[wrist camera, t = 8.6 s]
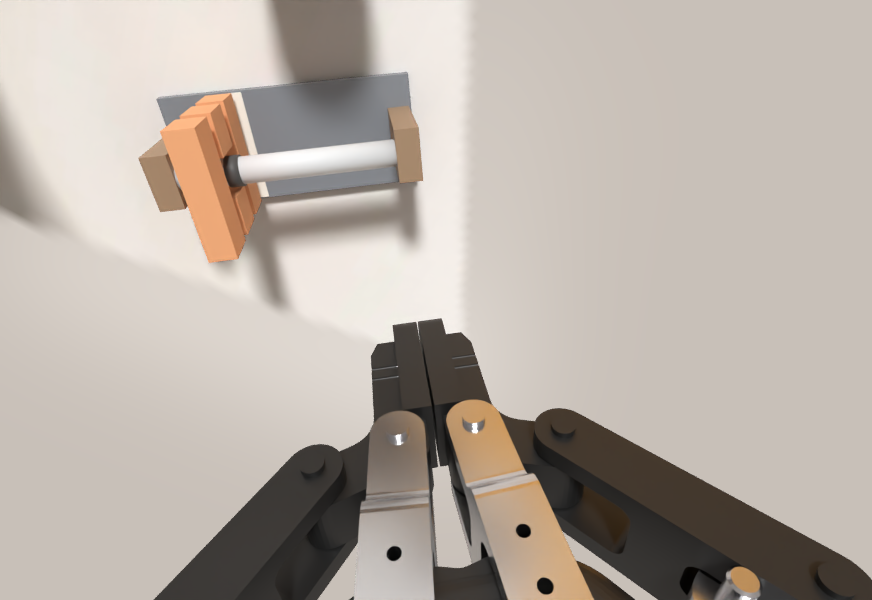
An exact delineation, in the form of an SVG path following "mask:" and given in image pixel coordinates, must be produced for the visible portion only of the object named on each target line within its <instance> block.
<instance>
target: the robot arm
mask: <svg viewBox="0 0 872 600" xmlns="http://www.w3.org/2000/svg"><path fill="white" fill-rule="evenodd" d="M418 328H419V334H418V329H417V324H416V322H412V323H405V324H398V325H393V332H394V341H395V342H389V343H382V344H377V346H376V348H375V350H374V352H373V353H372V355H371V366H372V385H373V406H374V424H373V425H372V428H371V430H370V432H369V434H368V435H367V436H366V437H365V438H364V439H363V440H361V441H360V442H358V443H357V444H355V445H353V446H351V447H349V448H347V449H344V450H342V451H340V452H339V451H338V450H337V449H335V448H333V447H332V446H329V445H324V444H323V445H322V444H318V445H312V446H308V447H306V448H304V449H302V450H300V451H298V452H297V453H295V454H294V455H293V456H292V457H291V458H290V459H289V460H288V461H287V462H286V463H285V464H284V465H283V466H282V467H281V468H280V469H279V471H278V472H277V473H276V474H275V475H274V476H273V477H272V478H271V479H270V480H269V481H268V482H267V483H266V484H265V485H264V486H263V487H262V488H261V489H260V490H259V491H258V492H257V493H256V494H255V495H254V496H253V498H252V499H251V500H250V501H249V502H248V503H247V504H246V505H245V506H244V507H243V508H242V509H241V510H240V511H239V512H238V513H237V514H236V515H235V516H234V517H233V518H232V519H231V521H229V522H228V523H227V524H226V525H225V526H224V527H223V529H222V530H221V531H220V532H219V533H218V534H217V535H216V536H215V537H214V538H213V539H212V540H211V541H210V542H209V543H208V544H207V545H206V546H205V547H204V548H203V549H202V550H201V551H200V552H199V553H198V554H197V555H196V557H195V558H194V559H193V560H192V561H191V562H190V563H189V564H188V565H187V566H186V567H185V568H184V569H183V570H182V571H181V572H180V573H179V574H178V575H177V576H176V577H175V578H174V579H173V581H171V582H170V583H169V584H168V586H167V587H166V588H165V589H164V590H163V591H162V592H161V593H160V594H159V595H158V596H157V597H156V598H155V599H154V600H317V599H318V598H319V596H320V595H321V594H322V592H323V591H324V590H325V588H326V587H327V585H328V584H329V582H330V581H331V580H332V578H333V577H334V576H335V574H336V573H337V571H338V570H339V568H340V567H341V566H342V564H343V563H344V562H345V560H346V558H347V557H348V556H349V555H350V553H351V552H352V550H353V549H354V548H355V546H356V544H357V543H358V548H357V563H356V577H355V591H354V597H352V598H351V599H350V600H635V599H634V598H632V597H631V596H630V595H628V594H627V593H626V592H624V591H623V590H622V589H621V588H620V587H618V586H617V585H616V584H614V583H613V582H612V581H611V580H609V579H608V578H607V577H605V576H604V575H603V574H601V573H599V572H598V571H596V570H595V569H593V568H591V567H590V566H587V565H585V564H583V563H581V562H579V561H576V560H575V558H574V556H573V554H572V551H571V550H570V547H569V545H568V543H567V541H566V539H565V537H564V534H563V532H564V533H566V534H567V535H569V536H570V537H572V538H573V539H574V540H576V541H577V542H578V543H580V544H581V545H583V546H584V547H585V548H587V549H588V550H589V551H591V552H592V553H594V554H595V555H596V556H598V557H599V558H601V559H602V560H603V561H605V562H606V563H608V564H609V565H610V566H612V567H613V568H615V569H616V570H617V571H619V572H620V573H622V574H623V575H625V576H626V577H627V578H629V579H630V580H631V581H633V582H634V583H636V584H637V585H638V586H640V587H641V588H643V589H644V590H645V591H647V592H648V593H650V594H651V595H652V596H654V597H655V598H657V599H658V600H872V580H871V578H870V577H869V576H868V575H867V574H866V573H865V572H864V571H863V570H862V569H861V568H859V567H858V566H857V565H856V564H854V563H853V562H852V561H850V560H849V559H847V558H845V557H844V556H842V555H840V554H838V553H836V552H835V551H832V550H831V549H829V548H827V547H825V546H823V545H821V544H820V543H818V542H816V541H814V540H812V539H810V538H808V537H807V536H805V535H803V534H801V533H799V532H797V531H795V530H794V529H792V528H790V527H788V526H786V525H784V524H783V523H781V522H779V521H777V520H775V519H773V518H771V517H769V516H767V515H766V514H764V513H762V512H760V511H759V510H756V509H755V508H753V507H751V506H749V505H747V504H745V503H744V502H742V501H740V500H738V499H736V498H734V497H733V496H731V495H729V494H727V493H725V492H723V491H721V490H720V489H718V488H716V487H714V486H712V485H710V484H708V483H706V482H705V481H703V480H701V479H699V478H697V477H695V476H694V475H692V474H690V473H688V472H686V471H684V470H682V469H680V468H679V467H676V466H675V465H673V464H671V463H669V462H668V461H666V460H664V459H662V458H660V457H658V456H656V455H655V454H653V453H651V452H649V451H647V450H645V449H643V448H642V447H640V446H638V445H636V444H634V443H632V442H630V441H628V440H627V439H625V438H623V437H621V436H619V435H617V434H616V433H614V432H612V431H610V430H608V429H606V428H604V427H602V426H601V425H599V424H597V423H595V422H593V421H591V420H589V419H588V418H586V417H584V416H582V415H580V414H578V413H576V412H574V411H572V410H568V409H561V408H557V409H550V410H547V411H545V412H543V413H541V414H540V415H539V416H538V417H537V419H536V421H527V420H518V419H514V418H510V417H508V416H505V415H503V414H502V413H500V412H499V411H498V410H497V409H496V408H495V407H494V406H493V405H492V403H491V401H490V398H489V395H488V392H487V389H486V386H485V383H484V380H483V377H482V374H481V371H480V368H479V366H478V362H477V359H476V356H475V353H474V349H473V346H472V343H471V341H470V340H468V339H467V338H466V337H465V336H464V335H463V334H462V333H461V332H460V333H452V334H446V333H445V329H444V325H443V322H442V319H433V320H426V321H419V322H418ZM419 338H420V340H419ZM435 440H436V444H435ZM436 445H437V451H438V457H439V462H440V466H446V465H448V466H449V471H450V476H451V487H452V493H453V497H454V501H455V504H456V508H457V511H458V515H459V518H460V522H461V525H462V529H463V532H464V536H465V539H466V543H467V546H468V550H469V553H470V557H471V562H472V564H471V565H469V566H467V567H464V568H448V567H438V566H437V553H436V537H435V523H434V510H433V509H434V508H433V495H432V491H433V487H434V481H433V472H432V468H435V467H438V464H437V455H436ZM562 531H563V532H562Z"/></svg>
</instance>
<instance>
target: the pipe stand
mask: <svg viewBox="0 0 872 600" xmlns="http://www.w3.org/2000/svg"><path fill="white" fill-rule="evenodd" d="M227 93H231V94H232V98H233V101H234V105H235V108H236V112H237V115H238V119H239V122H240V126H241V130H242V133H243V137H244V140H245V144H246V147H247V151H248V154H249V155H248V156H241V155H239V154H238V155H229V156H225V157H224V158H222V159H220V161H221V164H222V167H223V170H224V173H225V177H226V180H227V183H228V186H230V187H231V188H234V187H242V186H247V184H250V183H257V186H258V190H259V193H260V197H261V198H266V197H274V196H283V195H291V194H299V193H308V192H316V191H324V190H333V189H341V188H350V187H358V186H366V185H375V184H383V183H392V182H400V183H407V182H415V181H423V173H422V162H421V151H420V139H419V128H418V125H417V123H416V121H415V119H414V117H413V114H412V112H411V102H410V91H409V80H408V73H407V72H403V73H393V74H383V75H373V76H363V77H353V78H344V79H334V80H324V81H314V82H304V83H294V84H284V85H275V86H265V87H255V88H245V89H235V90H225V91H215V92H206V93H196V94H186V95H176V96H166V97H159V98H158V99H157V102H158V105H159V107H160V110H161V113H162V116H163V118H164V121H165V124H166V126H168V125H169V124H170V123H171V122H173V121H174V120H177V119H180V117H179V116H180V115H181V114H183V113H184V112H185V111H186V110H188V109H189V108H190V107H192V106H196V105H195V103H197V102H198V101H199V100H200V99H202V98H203V97H204V96H207V95H217V94H227ZM138 159H139V161H140V164H141V166H142V168H143V171H144V173H145V176H146V178H147V181H148V183H149V186H150V188H151V191H152V193H153V195H154V198H155V200H156V203H157V205H158V208H159V210H160V212H165V211H173V210H181V209H186V207H187V206H188V205H187V203H186V200H185V197H184V195H183V192H182V189H181V186H180V184H179V181H178V178H177V176H176V173H175V170H174V168H173V165H172V162H171V160H170V157H169V154H168V152H167V149H166V146H165V144H164V141H163V138H162V139H161V140H160V141H158V142H157V143H156V144H155V145H154V146H153V147H151V148H150V149H149V150H148V151H147V152H145V153H144V154H143V155H142V156H141V157H139V158H138Z"/></svg>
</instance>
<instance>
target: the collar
mask: <svg viewBox="0 0 872 600" xmlns="http://www.w3.org/2000/svg"><path fill="white" fill-rule="evenodd" d="M195 105H196V106H192V107H190V108H189V109H188V110H186V111H185V112H184V113H183V114H181V115H180V116H179V117H180V119H177V120H174V121H173V122H171V123H170V124H169V125H168V126H166V127H165V128H164V129H163V130H161V131H160V133H161V135H162V138H163V141H164V144H165V146H166V149H167V152H168V154H169V157H170V160H171V162H172V165H173V168H174V170H175V173H176V176H177V178H178V181H179V184H180V186H181V189H182V192H183V195H184V197H185V200H186V203H187V205H188V208H189V211H190V213H191V216H192V219H193V221H194V224H195V227H196V229H197V232H198V235H199V237H200V240H201V243H202V246H203V248H204V251H205V254H206V256H207V259H208V262H209V263H211V262H219V261H226V260H234V259H238V258H239V255H240V253H241V251H242V248H243V246H244V243H245V241H246V240H245V237H244V235H248V233H249V231H250V228H251V226H252V223H253V221H254V216H253V214H256V213H257V211H258V208H259V206H260V204H261V201H262V200H261V197H260V193H259V190H258V186H257V183H250V184H247V186H242V187H234V188H231V187H230V186H228V183H227V180H226V177H225V173H224V170H223V167H222V164H221V161H220V159H222V158H224V157H225V156H229V155H238V154H239V155H241V156H248V155H249V154H248V151H247V147H246V144H245V140H244V137H243V133H242V130H241V126H240V122H239V119H238V115H237V112H236V108H235V105H234V101H233V98H232V94H231V93H227V94H217V95H207V96H204V97H203V98H202V99H200V100H199V101H198V102H197V103H195Z"/></svg>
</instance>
